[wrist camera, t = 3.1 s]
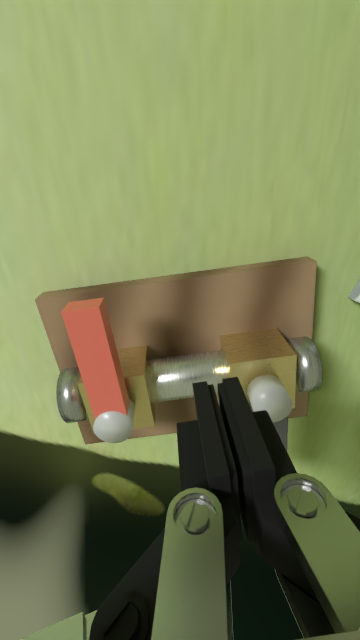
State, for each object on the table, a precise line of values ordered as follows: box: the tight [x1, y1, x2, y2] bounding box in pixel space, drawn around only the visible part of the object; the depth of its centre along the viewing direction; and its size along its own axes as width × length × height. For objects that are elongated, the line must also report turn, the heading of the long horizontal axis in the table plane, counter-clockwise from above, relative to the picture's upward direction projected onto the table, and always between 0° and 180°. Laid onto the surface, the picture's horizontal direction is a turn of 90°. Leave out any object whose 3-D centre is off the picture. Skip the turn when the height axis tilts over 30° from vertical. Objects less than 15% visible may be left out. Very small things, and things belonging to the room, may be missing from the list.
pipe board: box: [35, 257, 317, 444], centre depth 25 cm, size 20×14×2 cm
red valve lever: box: [61, 298, 135, 443], centre depth 18 cm, size 9×2×2 cm, turn 7°
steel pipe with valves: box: [57, 328, 322, 434], centre depth 23 cm, size 18×4×4 cm, turn 97°
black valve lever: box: [247, 375, 293, 451], centre depth 21 cm, size 9×2×2 cm, turn 7°
